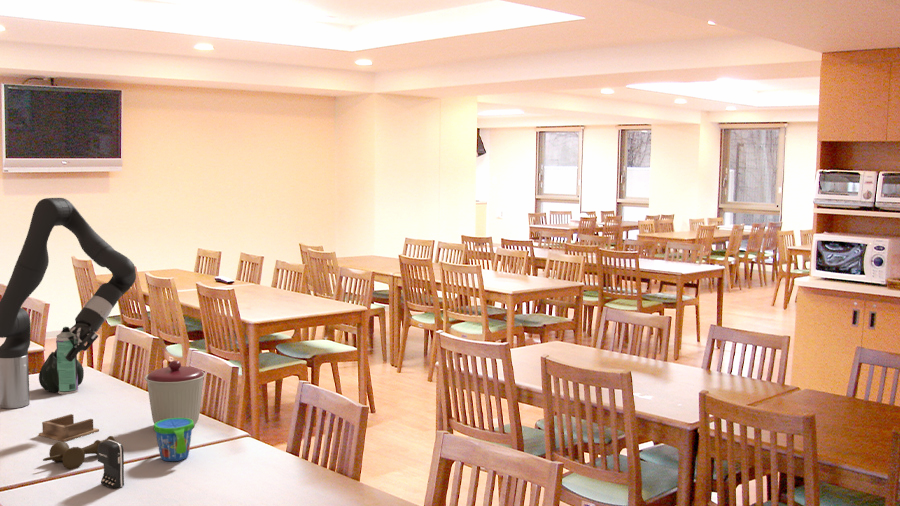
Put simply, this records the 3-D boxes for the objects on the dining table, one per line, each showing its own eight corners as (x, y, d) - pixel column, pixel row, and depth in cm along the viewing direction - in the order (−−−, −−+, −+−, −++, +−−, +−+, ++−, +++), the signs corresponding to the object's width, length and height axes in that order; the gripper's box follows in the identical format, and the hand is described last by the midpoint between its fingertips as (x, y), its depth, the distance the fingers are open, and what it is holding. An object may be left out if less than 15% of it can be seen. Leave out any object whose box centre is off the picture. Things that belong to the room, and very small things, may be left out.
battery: (96, 484, 211) (94, 441, 210) (109, 480, 214) (108, 437, 213) (111, 491, 207) (110, 447, 206) (125, 486, 210) (124, 443, 209)
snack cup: (151, 451, 236) (150, 417, 235) (189, 447, 241) (189, 413, 240) (158, 469, 222) (157, 433, 221) (198, 464, 227) (197, 428, 226)
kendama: (122, 457, 233) (51, 475, 217) (105, 451, 239) (35, 467, 224) (122, 437, 232) (50, 452, 217) (105, 430, 239) (34, 445, 223)
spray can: (81, 389, 253) (79, 325, 251) (71, 394, 248) (69, 329, 246) (64, 389, 254) (62, 325, 252) (54, 394, 248) (52, 328, 246)
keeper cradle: (38, 435, 249) (38, 422, 249) (73, 425, 260) (73, 412, 260) (64, 441, 244) (64, 428, 243) (99, 431, 254) (98, 418, 254)
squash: (97, 374, 303) (76, 341, 306) (63, 384, 290) (41, 350, 292) (78, 395, 309) (57, 363, 311) (44, 406, 295) (22, 373, 298)
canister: (159, 439, 247) (158, 370, 245) (136, 424, 261) (135, 359, 259) (215, 427, 259) (214, 361, 257) (191, 414, 273) (190, 352, 271)
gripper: (71, 304, 258) (37, 349, 249) (102, 308, 251) (68, 354, 242) (86, 318, 263) (54, 362, 254) (117, 323, 256) (85, 368, 247)
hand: (61, 358), depth 248 cm, fingers closed on spray can, 5 cm apart
